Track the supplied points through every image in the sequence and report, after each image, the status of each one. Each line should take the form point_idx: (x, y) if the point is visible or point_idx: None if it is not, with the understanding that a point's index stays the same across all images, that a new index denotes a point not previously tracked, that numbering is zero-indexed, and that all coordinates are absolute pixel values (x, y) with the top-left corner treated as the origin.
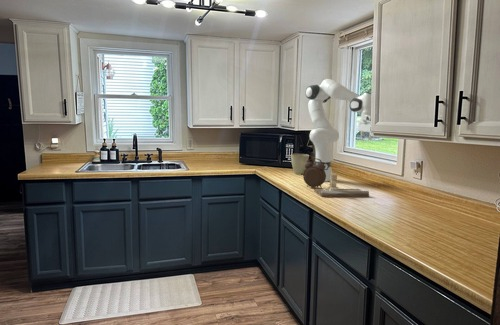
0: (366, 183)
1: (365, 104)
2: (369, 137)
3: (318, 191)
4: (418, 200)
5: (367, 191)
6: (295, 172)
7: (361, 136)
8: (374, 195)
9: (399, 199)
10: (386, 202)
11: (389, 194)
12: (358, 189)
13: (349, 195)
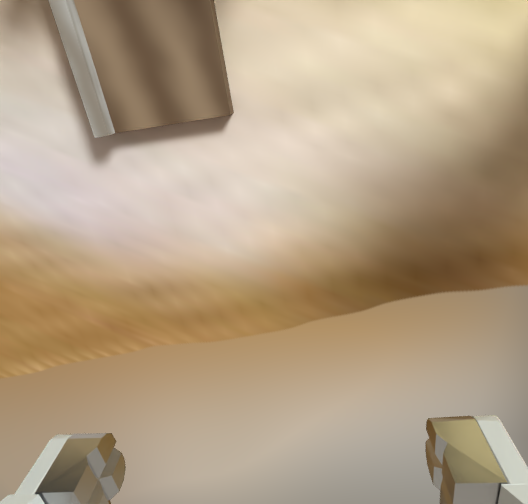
0: (510, 259)
1: None
2: (27, 480)
3: None
4: (115, 341)
5: (92, 127)
6: None
7: (511, 458)
8: (159, 182)
9: (105, 273)
10: (13, 185)
11: (207, 271)
12: (211, 107)
13: None
